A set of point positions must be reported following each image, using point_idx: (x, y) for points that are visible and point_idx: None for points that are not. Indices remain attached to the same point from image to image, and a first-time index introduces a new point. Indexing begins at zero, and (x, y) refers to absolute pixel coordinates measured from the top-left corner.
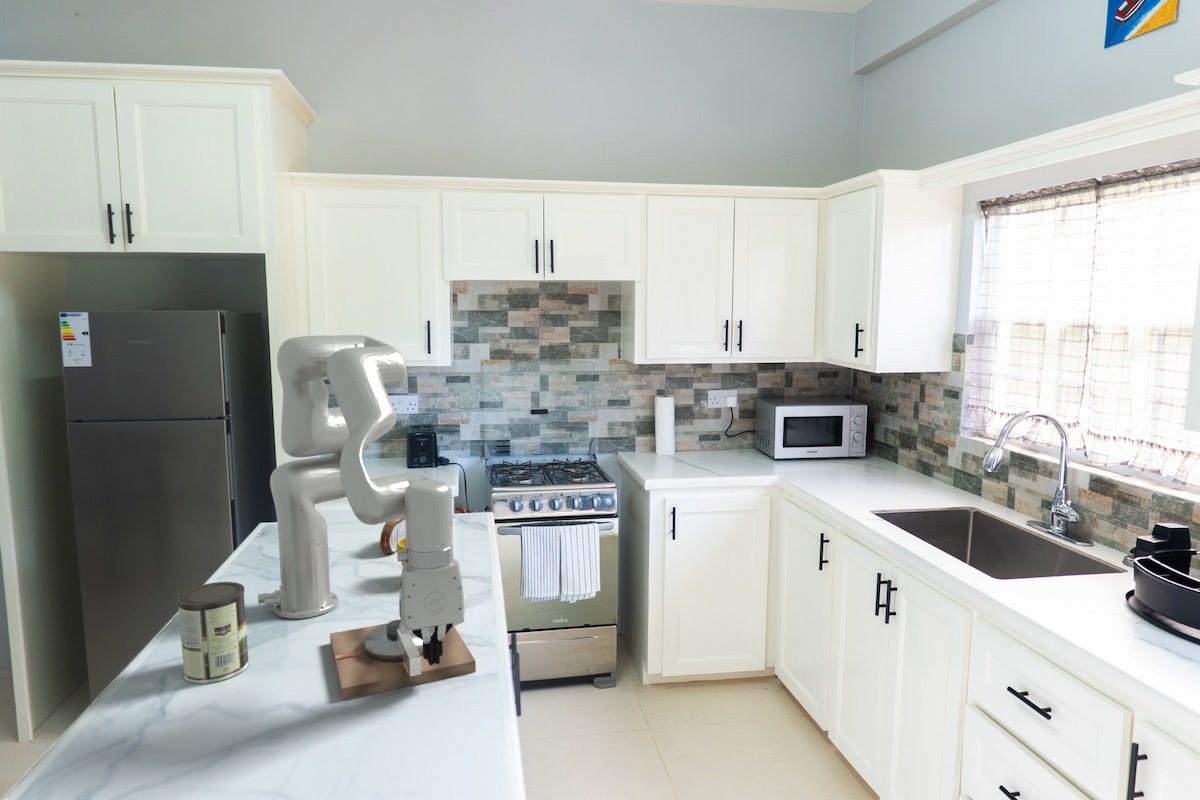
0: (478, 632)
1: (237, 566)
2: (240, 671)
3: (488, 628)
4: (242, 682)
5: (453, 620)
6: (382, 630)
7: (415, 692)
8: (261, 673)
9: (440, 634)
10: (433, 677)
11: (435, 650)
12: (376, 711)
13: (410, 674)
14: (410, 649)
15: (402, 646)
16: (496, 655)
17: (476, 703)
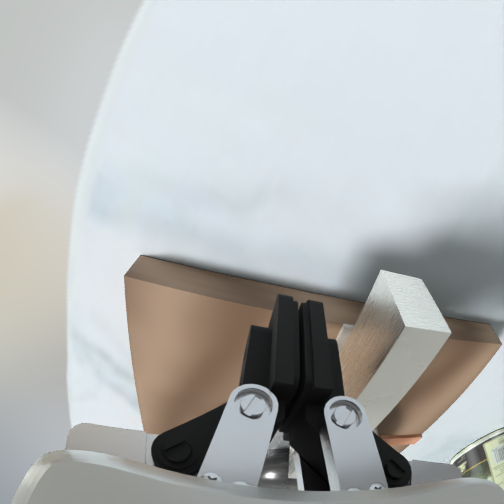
0: (100, 389)
1: None
2: (482, 439)
3: (81, 386)
4: (497, 421)
5: (133, 487)
6: None
7: (363, 258)
8: (472, 433)
9: (256, 420)
10: (280, 293)
11: (297, 346)
12: (487, 232)
13: (422, 284)
14: (384, 397)
15: None
16: (73, 294)
17: (219, 55)
